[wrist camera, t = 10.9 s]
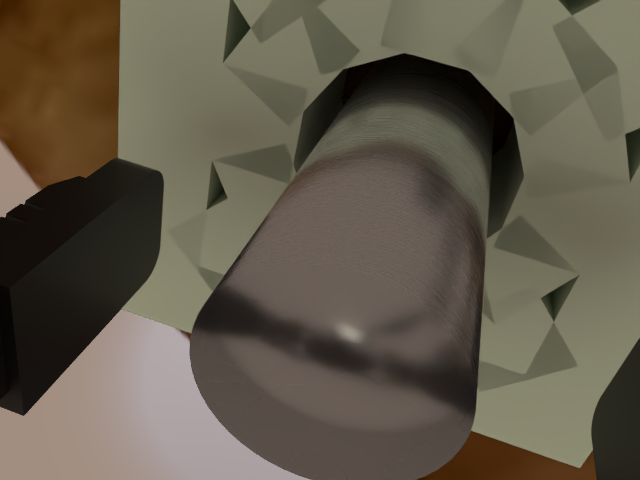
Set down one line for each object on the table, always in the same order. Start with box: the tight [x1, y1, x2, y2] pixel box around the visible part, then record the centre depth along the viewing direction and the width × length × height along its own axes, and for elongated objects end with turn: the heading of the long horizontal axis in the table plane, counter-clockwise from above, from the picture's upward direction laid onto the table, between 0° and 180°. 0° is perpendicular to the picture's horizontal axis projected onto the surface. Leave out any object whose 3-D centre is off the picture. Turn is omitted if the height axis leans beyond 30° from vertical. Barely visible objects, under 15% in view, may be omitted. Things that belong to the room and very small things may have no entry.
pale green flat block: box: [118, 0, 640, 468], centre depth 16 cm, size 14×14×5 cm
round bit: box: [190, 53, 496, 480], centre depth 13 cm, size 4×4×12 cm
